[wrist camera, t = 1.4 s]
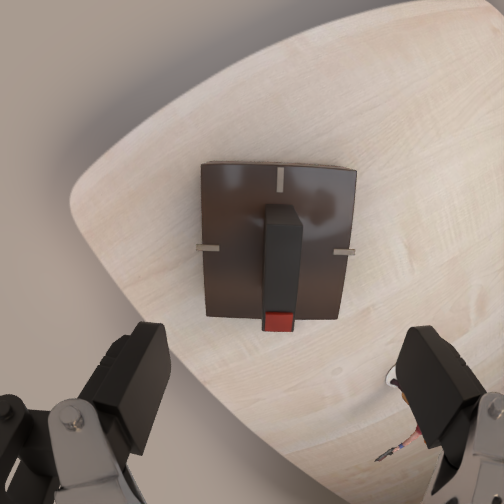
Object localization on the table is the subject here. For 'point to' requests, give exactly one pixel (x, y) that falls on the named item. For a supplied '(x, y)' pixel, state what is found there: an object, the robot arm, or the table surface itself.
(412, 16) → the table surface
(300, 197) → the panel
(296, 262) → the knob
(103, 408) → the robot arm
